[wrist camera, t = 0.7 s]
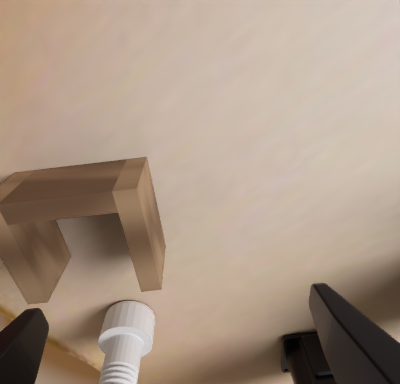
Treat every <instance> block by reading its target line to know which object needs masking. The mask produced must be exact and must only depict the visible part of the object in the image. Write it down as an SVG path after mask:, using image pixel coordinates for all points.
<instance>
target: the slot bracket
mask: <svg viewBox="0 0 400 384" xmlns="http://www.w3.org/2000/svg"><path fill="white" fill-rule="evenodd" d="M109 213H118V214H119V217H120V221H121V224H122V227H123V231H124V234H125V238H126V241H127V245H128V248H129V251H130V255H131V258H132V262H133V265H134V268H135V272H136V275H137V279H138V282H139V286H140V289H141V292H144V291H153V290H161V289H162V279H163V268H164V258H165V247H166V245H165V241H164V236H163V231H162V226H161V222H160V217H159V212H158V208H157V203H156V198H155V193H154V189H153V184H152V179H151V175H150V170H149V165H148V160H147V157H143V158H135V159H126V160H118V161H109V162H101V163H92V164H84V165H75V166H67V167H59V168H50V169H42V170H33V171H25V172H16V173H14V174H13V175H12V176H10V177H9V178H8V179H7V180H5V181H4V182H3V183H2V184H1V185H0V257H1V259H2V260H3V262H4V264H5V266H6V267H7V269H8V271H9V273H10V274H11V276H12V278H13V280H14V281H15V283H16V285H17V286H18V288H19V290H20V292H21V293H22V295H23V297H24V299H25V300H26V302H27V304H36V303H45V302H48V301H49V299H50V297H51V295H52V293H53V291H54V289H55V287H56V285H57V283H58V281H59V279H60V277H61V275H62V273H63V272H64V270H65V268H66V266H67V264H68V262H69V260H70V258H71V255H70V253H69V250H68V248H67V246H66V243H65V241H64V239H63V236H62V234H61V231H60V229H59V227H58V224H57V222H56V220H57V219H66V218H75V217H83V216H92V215H101V214H109Z"/></svg>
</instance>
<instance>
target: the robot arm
mask: <svg viewBox="0 0 400 384" xmlns="http://www.w3.org/2000/svg"><path fill="white" fill-rule="evenodd" d="M309 307H310V310H311V313H312V317H313V320H314V323H315V326H316V329H317V332H315V333H306V334H297V335H287V336H284V337H283V338H282V358H281V369H282V372H284V373H286V372H291V376H292V379H293V382H294V384H400V343H399V342H397V341H396V340H395V339H394V338H392V337H391V336H390V335H389V334H387V333H386V332H385V331H384V330H383V329H381V328H380V327H379V326H378V325H376V324H375V323H374V322H373V321H371V320H370V319H369V318H368V317H366V316H365V315H364V314H363V313H361V312H360V311H359V310H358V309H357V308H355V307H354V306H353V305H352V304H350V303H349V302H348V301H347V300H345V299H344V298H343V297H342V296H340V295H339V294H338V293H337V292H335V291H334V290H333V289H332V288H331V287H329V286H328V285H327V284H325V283H315V284H312V285H311V290H310V296H309ZM48 331H49V325H48V322H47V320H46V318H45V316H44V314H43V312H42V310H41V309H39V308H33V309H27V310H25V311H24V312H22V313H21V314H20V315H19V316H18V317H17V318H16V319H14V320H13V321H12V322H11V323H10V324H9V325H8V326H7V327H5V328H4V329H3V330H2V331H1V332H0V384H34V383H35V380H36V377H37V374H38V370H39V366H40V362H41V358H42V354H43V351H44V347H45V343H46V339H47V335H48Z"/></svg>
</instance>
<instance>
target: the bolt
mask: <svg viewBox="0 0 400 384" xmlns="http://www.w3.org/2000/svg"><path fill="white" fill-rule="evenodd" d="M154 327H155V315H154V313H153V311H152V310H151V309H150V308H149V307H148V306H147V305H145V304H143V303H140V302H137V301H122V302H119V303H116V304H114V305H113V306H111V307H110V308H109V309H108V311H107V313H106V316H105V319H104V323H103V326H102V330H101V333H100V337H99V341H98V344H99V347H100V349H101V350H102V351H103V352H104V353H105V354H106V355H105V359H104V363H103V367H102V373H101V376H100V380H99V384H137V380H138V373H139V366H140V359H141V357H143V356H145V355H146V354H148V353H149V352H150V350H151V349H152V345H153V336H154Z"/></svg>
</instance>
